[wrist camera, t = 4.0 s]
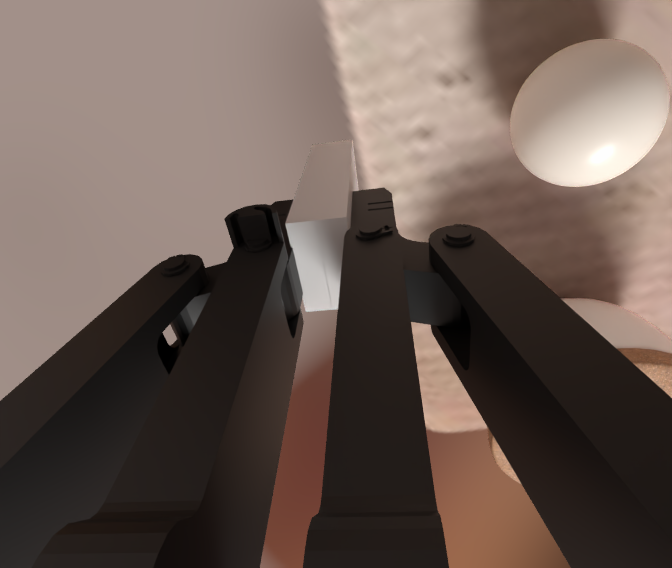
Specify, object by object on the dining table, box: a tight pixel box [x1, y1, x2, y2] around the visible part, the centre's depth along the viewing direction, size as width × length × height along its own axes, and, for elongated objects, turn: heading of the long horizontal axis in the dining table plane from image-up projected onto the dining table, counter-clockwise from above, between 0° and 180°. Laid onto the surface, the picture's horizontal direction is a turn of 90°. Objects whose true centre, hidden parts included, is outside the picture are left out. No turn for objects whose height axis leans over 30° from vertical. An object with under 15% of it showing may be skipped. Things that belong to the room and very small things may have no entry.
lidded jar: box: [487, 298, 672, 484], centre depth 23 cm, size 11×11×9 cm
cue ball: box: [510, 39, 670, 187], centre depth 17 cm, size 6×6×6 cm
